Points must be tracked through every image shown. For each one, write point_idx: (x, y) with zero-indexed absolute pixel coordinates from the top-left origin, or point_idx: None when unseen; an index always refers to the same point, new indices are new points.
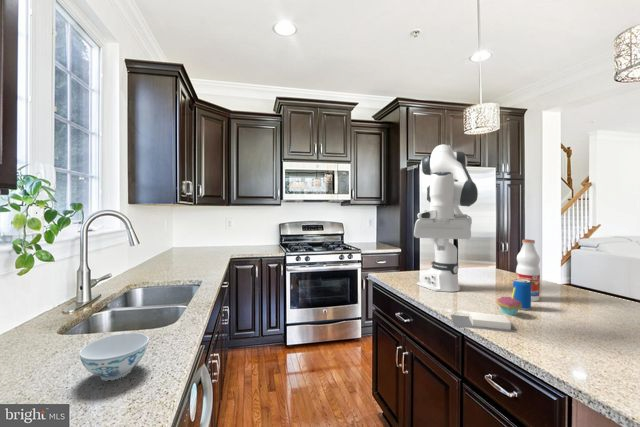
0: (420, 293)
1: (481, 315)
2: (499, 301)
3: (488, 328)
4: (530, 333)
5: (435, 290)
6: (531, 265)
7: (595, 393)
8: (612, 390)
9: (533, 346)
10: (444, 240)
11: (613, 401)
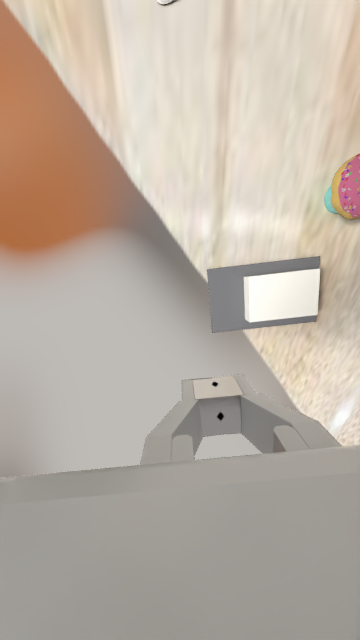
0: (118, 70)
1: (270, 290)
2: (341, 195)
3: (270, 320)
4: (338, 305)
5: (162, 1)
6: None
7: None
8: (356, 437)
9: (320, 359)
10: (275, 441)
11: None
